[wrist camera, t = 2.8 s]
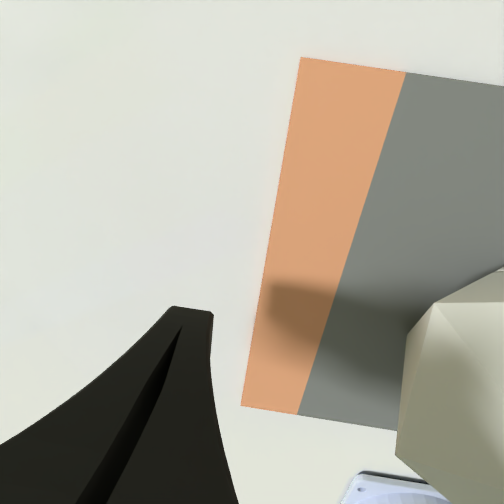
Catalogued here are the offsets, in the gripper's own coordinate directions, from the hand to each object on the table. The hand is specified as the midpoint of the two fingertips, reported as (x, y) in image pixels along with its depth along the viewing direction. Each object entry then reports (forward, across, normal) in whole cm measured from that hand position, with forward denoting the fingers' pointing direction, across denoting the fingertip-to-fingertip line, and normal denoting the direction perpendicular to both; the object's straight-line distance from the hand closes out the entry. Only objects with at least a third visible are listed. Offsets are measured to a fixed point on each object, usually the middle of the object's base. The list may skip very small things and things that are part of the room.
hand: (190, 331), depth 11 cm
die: (+3, -11, 0) cm, 12 cm away
